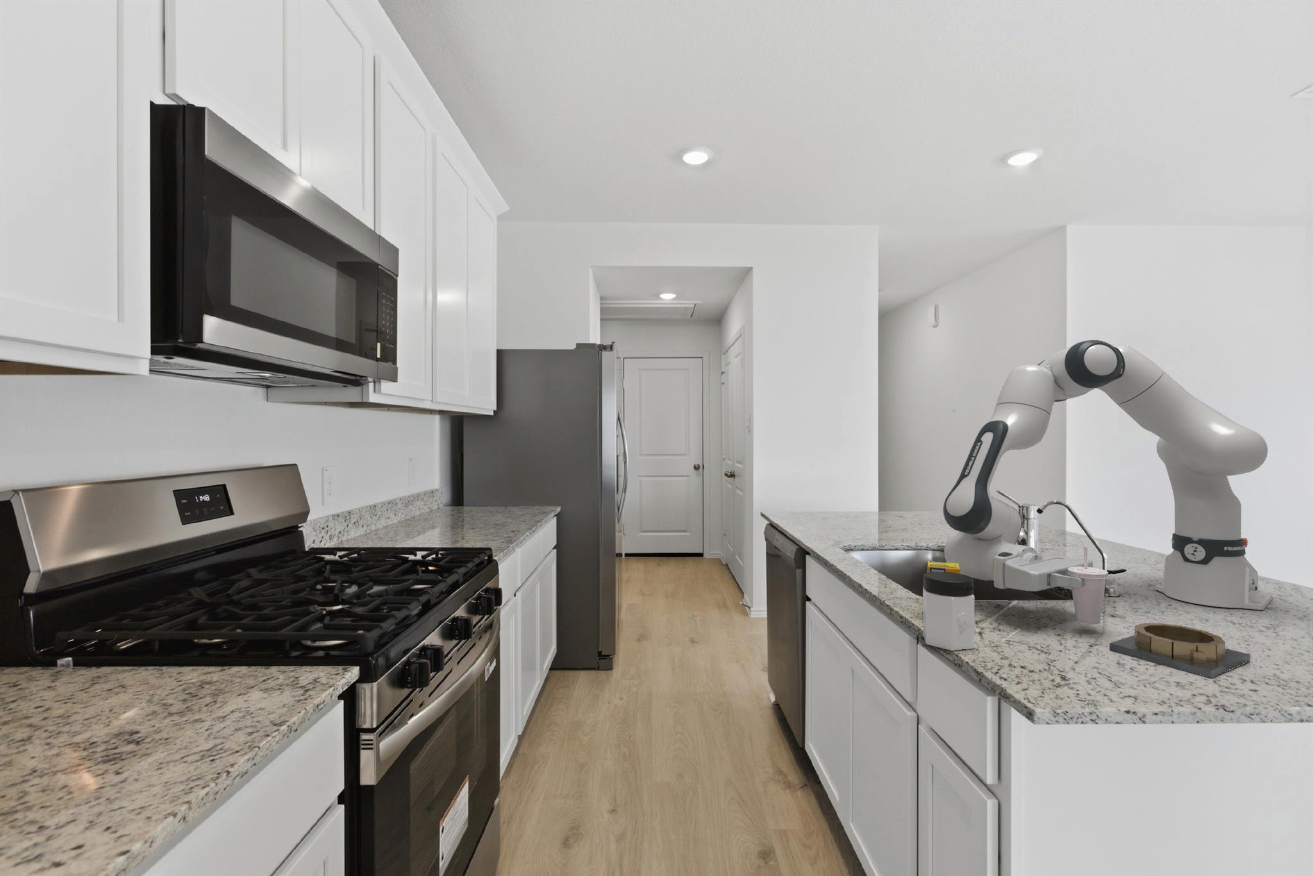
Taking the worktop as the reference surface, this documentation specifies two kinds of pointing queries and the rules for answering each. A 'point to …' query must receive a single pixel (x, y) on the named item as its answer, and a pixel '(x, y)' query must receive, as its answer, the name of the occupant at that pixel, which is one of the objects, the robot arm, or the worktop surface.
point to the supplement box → (942, 567)
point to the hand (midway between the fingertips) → (1092, 580)
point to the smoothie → (1088, 592)
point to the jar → (948, 610)
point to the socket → (1180, 648)
